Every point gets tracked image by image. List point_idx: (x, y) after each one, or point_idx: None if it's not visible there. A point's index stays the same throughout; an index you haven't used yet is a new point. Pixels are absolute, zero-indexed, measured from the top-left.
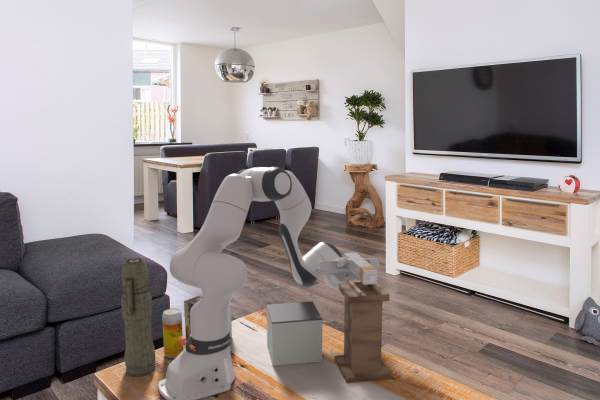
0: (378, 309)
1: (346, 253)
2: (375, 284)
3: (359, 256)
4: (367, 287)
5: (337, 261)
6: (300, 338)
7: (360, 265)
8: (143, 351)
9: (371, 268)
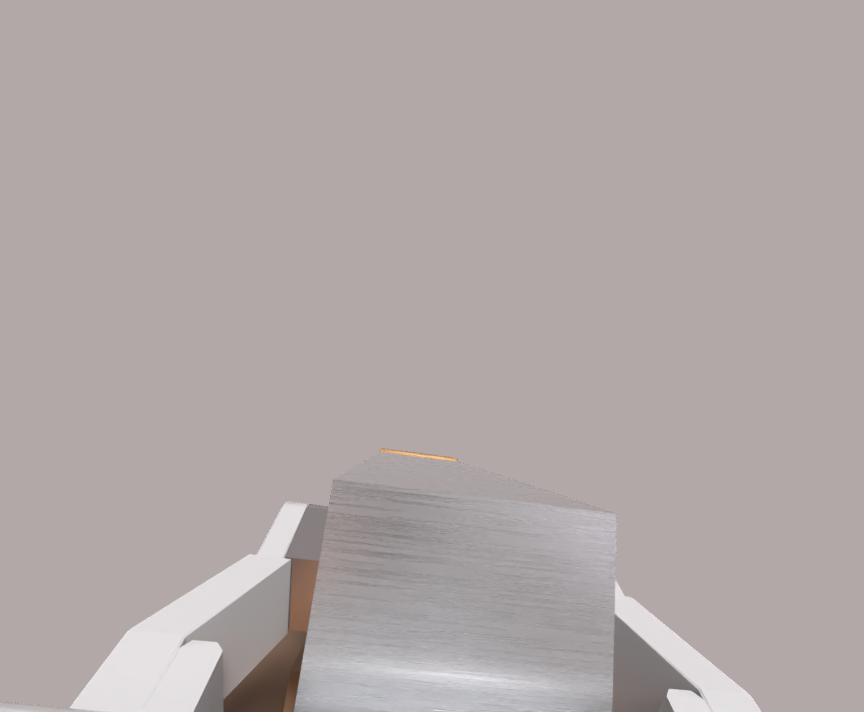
0: None
1: (561, 500)
2: (265, 656)
3: (382, 464)
4: None
5: (752, 708)
6: None
7: (446, 460)
8: None
9: (403, 451)
